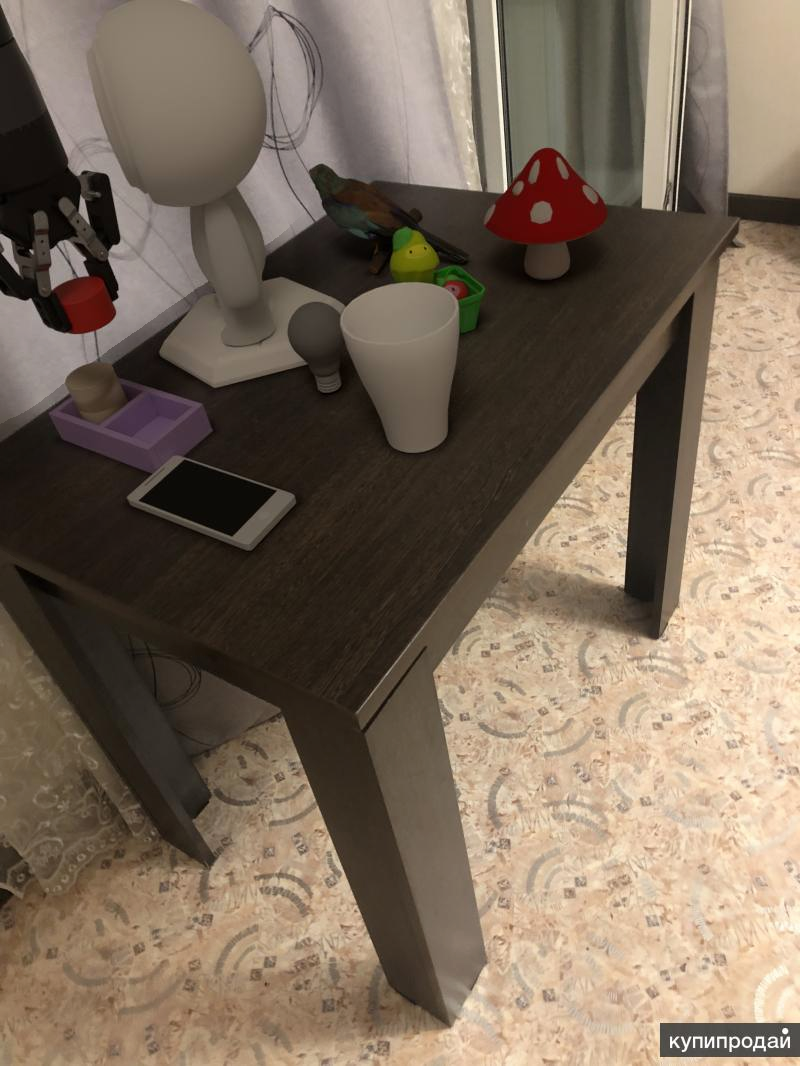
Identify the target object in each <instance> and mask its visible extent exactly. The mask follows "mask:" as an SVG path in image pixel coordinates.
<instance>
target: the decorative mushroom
mask: <svg viewBox="0 0 800 1066" xmlns="http://www.w3.org/2000/svg"><path fill="white" fill-rule="evenodd" d="M608 213H609V210H608V208H607V206H606V203H605V201H604V199H603V197H601V195H600V194H599V192H598V191H597V190H596V189H595V188H594V187H592V186H590V185H589V184H588V183H587V182H586V180H584V179H583V178H582V177H581V176H580V175H579V174H578V172H577V170H576V168H574V167H573V166H572V165H571V164H570V163H569V162H568V160H567V159H566V158H565V156H564V155H562V153H561V152H559V151H558V150H556V149H555V148H553V147H543V148H541V149H538V150H537V151H535V152H534V153H533V154H532V156H531V157H530V158H529V159H528V161H527V162H526V164H525V165H524V167H523V168H522V170H521V171H518V172H517V173H516V174H515V176H514V177H513V179H512V183H510V185H509V187H508V188H507V189H506V190H505V191H504V192H503V193H502V194H501V196H500V197H498V199H496V201H495V202H494V203H493V204H492V205H491V206H490V208H488V210H487V212H486V213H485V215H484V219H483V226H484V228H485V229H487V230H488V231H489V232H491V233H492V234H494V235H496V236H497V237H499V238H501V239H503V240H506V241H507V242H512V243H516V244H519V245H520V244H521V245H527V247H526V251H525V255H524V262H523V267H524V271H525V273H526V274H527V275H528V276H529V277H530V278H533V279H535V280H540V281H551V280H555V279H558V278H561V277H562V276H563V275H565V273H567V272H568V270H569V269H570V265H571V257H570V256H571V255H570V252H569V249H568V244H567V243H568V242H571V241H574V240H577V239H581V238H583V237H585V236H587V235H589V234H591V233H593V232H595V231H596V230H597V229H598V228H600V227H601V226H602V225H604V223H605V222H606V220H607V219H608Z"/></svg>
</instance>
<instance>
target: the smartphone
mask: <svg viewBox="0 0 800 1066" xmlns="http://www.w3.org/2000/svg"><path fill="white" fill-rule="evenodd" d="M126 499H127V501H128V503H129V505H130V506H131V507H134V508H136V509H139V510H140V511H141V510H142V511H144V512H146V513H149V514H152V515H154V516H157V517H159V518H162V519H164V520H167V521H170V522H173V523H174V524H178V525H180V526H183V527H185V528H187V529H190V530H193V531H195V532H198V533H201V534H203V535H205V536H208V537H211V538H214V539H216V540H218V541H221V542H224V543H226V544H229V545H231V546H234V547H236V548H239V549H242V550H244V551H252V550H254V549H255V548H256V547H257V546H258V545H259V543H260V542H262V540H263V539H264V538H265V537H266V536H267V535H268V534H269V533H270V532H271V531H272V529H274V528H275V526H276V525H277V524H278V523H279V522H280V521H281V520H282V519H283V518H284V517H285V516H286V515H287V514H288V513H289V512H290V510H291V509H293V507H294V506H296V505H297V499H296V496H295V494H293V493H291V492H289V491H286V490H283V489H280V488H277V487H274V486H271V485H267V484H266V483H262V482H259V481H256V480H253V479H250V478H247V477H244V476H242V475H238V474H235V473H233V472H230V471H226V470H224V469H221V468H217V467H215V466H212V465H210V464H209V465H208V464H205V463H202V462H199V461H197V460H194V459H191V458H187V457H185V456H183V457H182V456H178V455H175V456H173V457H171V458H170V459H169V460H168V461H167V462H166V463H165V464H164V465H162V466H161V467H160V468H159V469H158V470H157V471H156V472H154V473H153V474H151V475H150V476H149V477H147V478H146V479H145V480H144V481H143V482H142V483H140V485H138V486H137V487H136V488H135V489H134V490H133V491H131V493H129V494H128V495H127V496H126Z"/></svg>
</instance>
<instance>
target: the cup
mask: <svg viewBox="0 0 800 1066" xmlns="http://www.w3.org/2000/svg"><path fill="white" fill-rule="evenodd" d="M340 327H341V330H342V333H343V337H344V340H345V343H344V344H345V346H346V350H347V352H348V354H349V356H350V359H351V360H352V363H353V366H354V368H355V370H356V373H357V374H358V377H359V379H360V381H361V383H362V385H363V387H364V389H365V390H366V392H367V394H368V396H369V398H370V399H371V401H372V403H373V406H374V408H375V410H376V412H377V414H378V416H379V419H380V421H381V425H382V428H383V430H384V434H385V436H386V440H387V442H388V444H389V445H390V446H391V447H392V448H393V449H395V450H397V451H399V452H402V453H409V454H417V453H424V452H427V451H431V450H432V449H435V448H436V447H438V446H440V445H441V444H442V443H443V442H444V441H445V439H446V438H447V436H448V433H449V432H448V431H449V412H448V411H449V405H450V404H449V403H450V399H451V398H450V397H451V392H452V391H451V390H452V384H453V379H454V375H455V370H456V366H457V356H458V350H459V339H460V333H459V305H458V300H457V299H456V298H455V296H454V295H453V294H452V293H451V292H450V291H448V290H446V289H445V288H443V287H440V286H437V285H433V284H428V283H420V282H404V283H390V284H386V285H382V286H379V287H376V288H373V289H371V290H368V291H366V292H364V293H362V294H360V295H359V296H357V297H356V298H354V299H352V300H351V302H349V303H348V304H347V305H345V309H344V311H343V313H342V315H341V317H340Z"/></svg>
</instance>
